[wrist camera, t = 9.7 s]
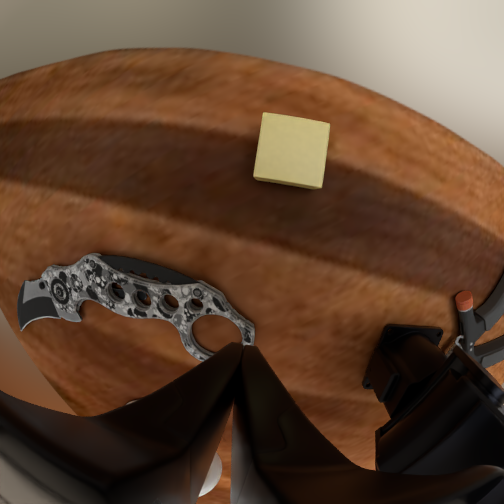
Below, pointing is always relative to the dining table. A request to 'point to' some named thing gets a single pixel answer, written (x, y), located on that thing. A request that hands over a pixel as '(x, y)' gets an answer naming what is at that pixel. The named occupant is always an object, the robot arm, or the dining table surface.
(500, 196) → the dining table surface
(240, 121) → the dining table surface
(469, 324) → the hand grip strengthener
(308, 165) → the butter
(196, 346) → the knife
